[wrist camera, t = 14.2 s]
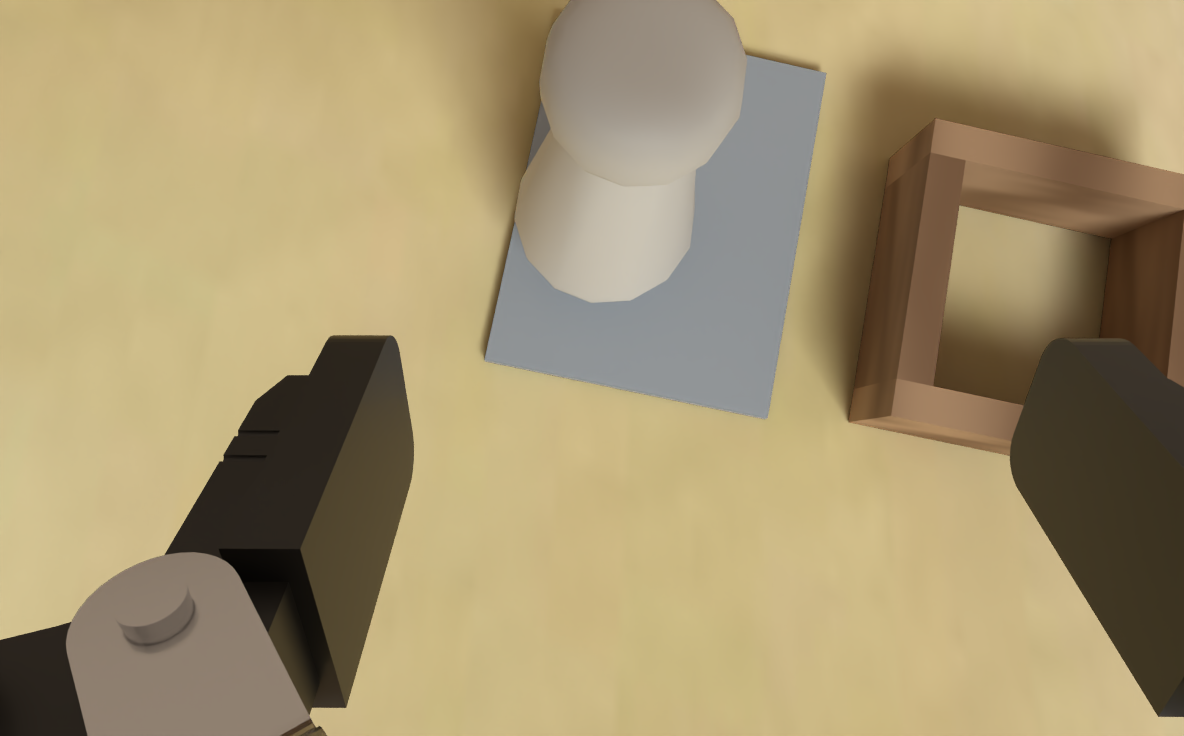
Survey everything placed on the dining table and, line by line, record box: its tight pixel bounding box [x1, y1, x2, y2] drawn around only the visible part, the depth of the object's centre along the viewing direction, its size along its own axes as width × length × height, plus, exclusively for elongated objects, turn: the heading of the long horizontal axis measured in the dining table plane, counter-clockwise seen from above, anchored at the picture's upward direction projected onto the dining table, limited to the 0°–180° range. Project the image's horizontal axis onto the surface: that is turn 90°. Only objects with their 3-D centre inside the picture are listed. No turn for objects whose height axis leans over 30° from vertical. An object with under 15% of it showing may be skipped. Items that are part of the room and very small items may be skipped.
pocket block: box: [849, 118, 1184, 456], centre depth 28 cm, size 10×10×4 cm
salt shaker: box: [514, 0, 747, 303], centre depth 22 cm, size 6×6×13 cm
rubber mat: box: [485, 55, 826, 419], centre depth 29 cm, size 10×13×1 cm
